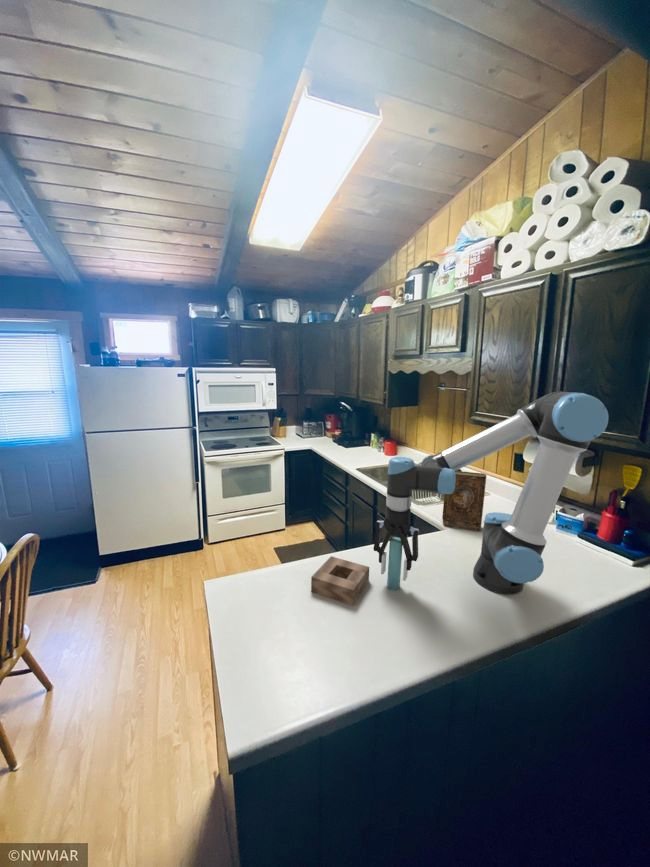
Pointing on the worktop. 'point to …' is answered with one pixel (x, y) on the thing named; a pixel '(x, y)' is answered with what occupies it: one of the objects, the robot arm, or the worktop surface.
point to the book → (465, 502)
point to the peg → (394, 563)
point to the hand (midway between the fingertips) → (394, 575)
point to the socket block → (340, 580)
